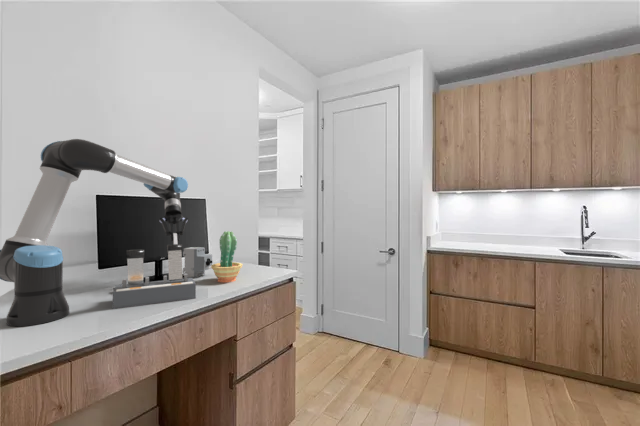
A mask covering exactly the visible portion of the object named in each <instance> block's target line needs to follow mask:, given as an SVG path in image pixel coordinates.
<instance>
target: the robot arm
mask: <svg viewBox="0 0 640 426" xmlns="http://www.w3.org/2000/svg"><path fill="white" fill-rule="evenodd" d="M40 161H41V164H40V166H39V170H40V172H41V173H42V175H41V177H40V179H39V181H38V184H37V186H36V188H35V191H34V192H33V195H32V197H31V198H30V199H31V200H30V201H29V204H28V206H27V208H26V210H25V212H24V214H23V217H22V218H21V221H20V223H19V225H18V227H17V229H16V232H15V234H14V235H13V236H12V237H8V238H7V239H5V241H4V244H3V246H2V247H1V249H0V280H1V281H4V282H7V283H13V286H14V289H13V290H14V291H13V292H14V298H13V300H12V303H11V306H10V308H9V309H8V313H7V315H6V325H7V326H10V327H27V326H36V325H40V324H45V323H51V322H53V321H57V320H60V319H62V318H65V317H67V316H68V315H69V314H70V305H69V303H68V301H67V299H66V297H65V294H64V291H63V277H64V276H63V274H64V273H63V272H64V271H63V270H64V269H63V268H64V266H63V264H64V263H63V262H64V256H63V250H62V249H61V248H60V247H57V246H55V245H48V243H47V240H48V238H49V235H50V233H51V231H52V228H53V226H54V223H55V221H56V219H57V217H58V214H59V212H60V209H61V207H62V205H63V202H64V200H65V198H66V196H67V193H68V191H69V189H70V187H71V184H72V183H74V182H77V181H78V180H79V178H80V175H81V173H82V171H94V172H100V173H103V174H108V173H112V174H114V175H117V176H120V177H124V178H127V179H130V180H133V181H136V182H139V183H143V186H144V187H145V188H147V190H148V191H150V192H152V193H154V194H155V195H156V196H158V197H159V198H161V199H162V200H164V217H159V224H161V226H162V228H163V231H164V234H165V236H169V238H170V242H173V245H179V244H178V242H179V241H180V240H181V239H180V238H181V237H180V236H183V235H184V232H185V229H186V224H187V223H188V220H189V218H188V217H184V216H183V214H182V213H183V212H182V202H181V194H182V193H185V192H186V191H187V190H188V187H189V183H188V181H187V179H186V178H185V177H181V176H177V177H176V176H173V175H171V174H169V173H166V172H162V171H160V170H157V169H155V168H152V167H150V166H147V165H145V164H142V163H140V162H138V161H135V160H131V159H130V158H129V159H128V157H127V158H126V157H125V156H121V155H119V154H117V152H116V151H115V150H113V149H110V148H107V147H105V146H103V145H100V144H98V143H95V142H92V141H90V140H86V139H81V138H73V139H71V138H70V139H67V140H57V141H54V142H51V143H49V144H47V145H45V147H44V148H43V149H42V150H41V152H40ZM166 222H167V223H168V224H169V228H168V225H167V223H166ZM181 222H182V224H181V229H180V223H181ZM174 225H175V232H174Z"/></svg>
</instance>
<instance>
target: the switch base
mask: <svg viewBox="0 0 640 426" xmlns="http://www.w3.org/2000/svg"><path fill="white" fill-rule="evenodd" d="M183 276H184V277H183V278H182V280H175V281H169V279H168V275H167V274H163V280H154V281H150V276H145V281H143V285H134V286H128V278H123V279H122V280H121V284H116V285H115V286H114V287H113V288H114V290H113V289H112V310H113V309H114V310H115V309H120V308H121V309H122V308H123V309H124V308H130V307H137V306H144V305H145V306H146V305H153V304H154V305H155V304H160V303H161V304H162V303H169V302H177V301H185V300H193V299H196V297H197V295H196V292H197V291H196V290H197V287H196V286H197V284H196V282H195V280H194V277H188V275H187V273H186V274H183Z"/></svg>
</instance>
